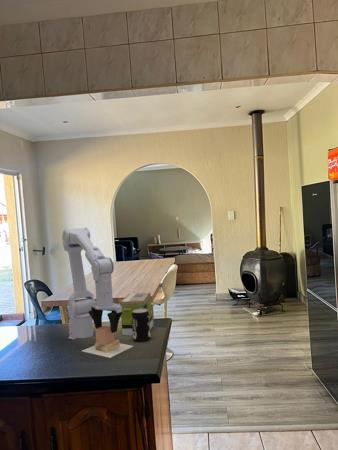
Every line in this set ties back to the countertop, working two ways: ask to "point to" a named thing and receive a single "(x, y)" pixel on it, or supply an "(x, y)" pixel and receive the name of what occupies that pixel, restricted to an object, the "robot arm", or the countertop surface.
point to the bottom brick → (107, 346)
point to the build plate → (109, 354)
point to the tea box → (131, 304)
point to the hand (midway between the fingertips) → (106, 330)
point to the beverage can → (140, 325)
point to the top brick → (104, 335)
